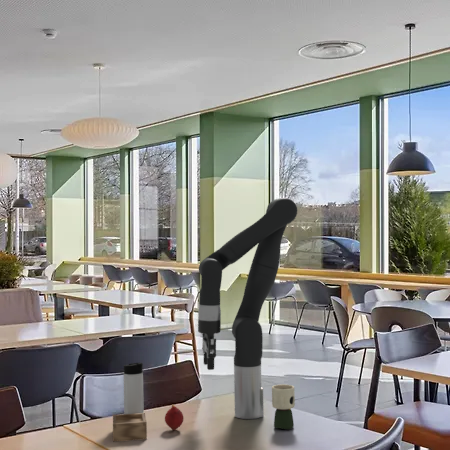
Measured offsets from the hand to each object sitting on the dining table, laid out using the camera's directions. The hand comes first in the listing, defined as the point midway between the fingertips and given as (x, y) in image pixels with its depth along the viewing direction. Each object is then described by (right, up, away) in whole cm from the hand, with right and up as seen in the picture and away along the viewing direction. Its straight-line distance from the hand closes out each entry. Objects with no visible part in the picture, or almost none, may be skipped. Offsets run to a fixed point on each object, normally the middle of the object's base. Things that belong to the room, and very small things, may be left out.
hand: (208, 366), depth 216 cm
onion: (-10, -18, -12) cm, 24 cm away
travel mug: (-24, -18, -4) cm, 30 cm away
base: (-24, -18, -16) cm, 34 cm away
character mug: (+24, -17, -12) cm, 32 cm away
